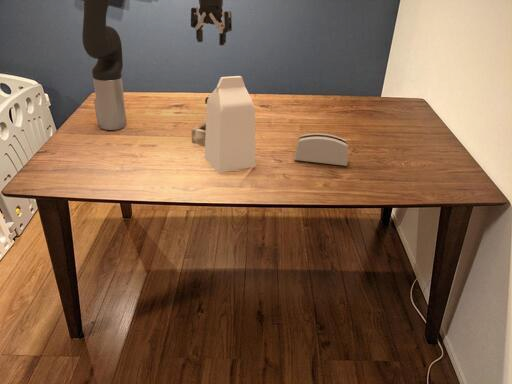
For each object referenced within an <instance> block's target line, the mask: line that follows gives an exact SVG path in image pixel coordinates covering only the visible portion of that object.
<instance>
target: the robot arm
mask: <svg viewBox="0 0 512 384" xmlns="http://www.w3.org/2000/svg"><path fill="white" fill-rule="evenodd" d="M110 2H111V0H83V20H82V21H83V22H82V23H83V24H82V34H81V35H82V36H81V37H82V45H83V49H84V50H85V52H86V53H87V55H88V56H89V57H91V58H92V59H95V60H96V59H97V62H96V64H95V66H93V67H92V71H91V72H92V81H93V88H94V95H95V96H94V97H95V98H94V99H93V102H94V109H95V110H94V111H95V115H96V116H95V117H96V122H97V126H99V127H100V129H102V130H105V131H106V130H108V131H109V130H110V131H111V130H113V131H115V130H120V129H123V128H126V127H127V124H128V123H127V114H126V105H125V97H124V95H125V94H124V86H123V79H122V71H123V66H124V65H123V63H124V62H123V47H122V39H121V37H120V35H119V32H118V31H117V30H116V29H115V28H114V27H112V26H110V25H107V14H108V13H107V12H108V8H109V6H110ZM223 3H224V0H198V4H199V8H198V7H192V8H190V27H191V28H193V29H195V36H196V37H195V38H196V40H197V43H203V41H204V39H203V38H204V35H203V34H204V30H203V28H204V27H205V25H208V24H210V25H215V27H216V29H218V31H219V33H218V35H219V41H218V42H219V43H218V44H219V46H221V47H222V46H225V45H226V42H227V33H229V32H231V31H232V30H233V27H232V26H233V25H232V24H233V23H232V12H231V10H227V11H226V10H225V11H224V10H223V5H224V4H223ZM199 15H200V18H199ZM222 17H223V19H224V21H223V19H222Z"/></svg>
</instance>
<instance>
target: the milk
mask: <svg viewBox="0 0 512 384" xmlns="http://www.w3.org/2000/svg"><path fill="white" fill-rule="evenodd" d="M208 97H209V98H208V100H207V104H206V114H205V118H206V119H205V122H206V135H205V146H204V159H205V160H206V161H207V162H208V163H209V164H210V165H211V167H212V168H214V169H215V170H216V172H217V173H218V174H221V173H226V172H231V171H232V172H233V171H236V170H243V169H244V170H245V169H249V168H255V167H256V110H255V109H256V108H255V104H254V102H253V99H252V97H251V96H250V94H249V91H248V90H247V88H246V85H245V83H244V79H243V76H241V75H234V76H233V75H232V76H220V79H219V80H218V83H217V85H216V87H215V89H214V90H213V91H212V92H211V94H210V95H208Z"/></svg>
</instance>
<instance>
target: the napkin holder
mask: <svg viewBox="0 0 512 384" xmlns="http://www.w3.org/2000/svg"><path fill="white" fill-rule="evenodd" d="M348 153H349V143H348V141H347V140H346V139H345V138H342V137H339V136H337V135H333V134H329V133H317V132H316V133H305V134H302V135H300V137H299V138H298V140H297V145H296V148H295V151H294V157H293V159H294V161H300V162H301V161H302V162H309V163H310V162H311V163H318V164H319V163H320V164H327V165H335V166H344V167H347V166H348V159H349V157H348V155H349V154H348Z"/></svg>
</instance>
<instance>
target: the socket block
mask: <svg viewBox="0 0 512 384" xmlns="http://www.w3.org/2000/svg"><path fill="white" fill-rule="evenodd" d="M205 135H206V121H205V122H203V123H201V124H199V125H197V126H195V127H194V128H191V143H192V144H195V145H199V146H203V147H205Z"/></svg>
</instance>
